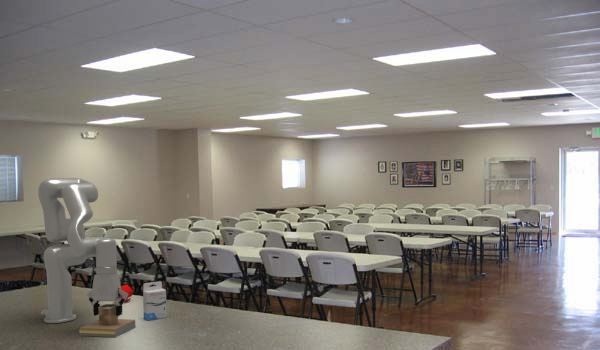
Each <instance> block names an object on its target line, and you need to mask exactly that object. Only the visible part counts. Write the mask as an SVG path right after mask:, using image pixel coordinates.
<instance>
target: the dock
mask: <svg viewBox="0 0 600 350" xmlns="http://www.w3.org/2000/svg"><path fill="white" fill-rule="evenodd" d="M135 328H136V319H125V318H118V323H115V324H113V325H111V326H107V325H99V319H98V320H94V321H92V322H91V323H87V324H85V325H84V326H81V327H79V330H78V331H79V335H80V337H99V338H100V337H101V338H117V337H118V336H121V335H123V334H125V333H127V332H129V331H130V330H133V329H135Z"/></svg>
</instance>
